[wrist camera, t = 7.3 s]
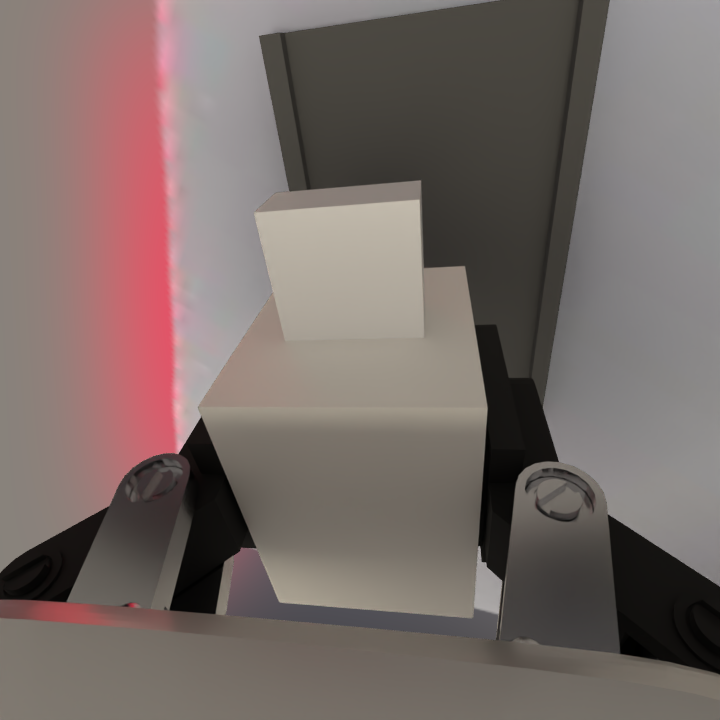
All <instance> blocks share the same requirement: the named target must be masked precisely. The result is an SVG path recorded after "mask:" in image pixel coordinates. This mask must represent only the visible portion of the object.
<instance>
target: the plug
mask: <svg viewBox="0 0 720 720" xmlns="http://www.w3.org/2000/svg"><path fill="white" fill-rule="evenodd" d="M254 216H255V220H256V224H257V228H258V232H259V236H260V240H261V245H262V249H263V253H264V257H265V261H266V265H267V269H268V273H269V277H270V281H271V286H272V290H273V293H272V295H271V296H270V298H269V299H268V301H267V302H266V304H265V305H264V307H263V308H262V310H261V311H260V313H259V314H258V316H257V317H256V319H255V320H254V322H253V324H252V325H251V327H250V328H249V330H248V331H247V333H246V334H245V336H244V337H243V339H242V340H241V342H240V343H239V345H238V346H237V348H236V349H235V351H234V352H233V354H232V356H231V357H230V359H229V360H228V362H227V363H226V365H225V366H224V368H223V369H222V371H221V372H220V374H219V375H218V377H217V378H216V380H215V381H214V383H213V384H212V386H211V388H210V389H209V391H208V392H207V394H206V395H205V397H204V398H203V400H202V401H201V403H200V404H199V406H198V409H199V412H200V414H201V416H202V419H203V421H204V424H205V426H206V428H207V431H208V433H209V436H210V438H211V440H212V443H213V445H214V448H215V450H216V452H217V455H218V457H219V460H220V462H221V464H222V467H223V469H224V471H225V474H226V476H227V479H228V481H229V483H230V486H231V488H232V491H233V493H234V495H235V498H236V500H237V503H238V505H239V507H240V510H241V512H242V514H243V517H244V519H245V522H246V524H247V526H248V529H249V531H250V534H251V536H252V538H253V541H254V543H255V546H256V548H257V550H258V553H259V555H260V557H261V560H262V562H263V565H264V567H265V569H266V572H267V574H268V577H269V579H270V581H271V584H272V586H273V588H274V591H275V593H276V596H277V598H278V601H279V602H281V603H293V604H306V605H318V606H331V607H343V608H354V609H366V610H379V611H391V612H403V613H416V614H428V615H439V616H453V617H464V618H473V610H474V596H475V582H476V567H477V553H478V539H479V524H480V510H481V496H482V481H483V467H484V453H485V438H486V424H487V410H488V407H487V401H486V395H485V388H484V382H483V376H482V370H481V363H480V357H479V351H478V345H477V338H476V332H475V326H474V320H473V313H472V307H471V301H470V295H469V288H468V282H467V276H466V270H465V266H457V267H437V268H424V259H423V226H422V194H421V180H419V181H408V182H396V183H384V184H373V185H361V186H349V187H337V188H326V189H314V190H302V191H291V192H279V193H275V194H274V195H273V196H271V197H270V198H269V199H268V200H267V201H266V202H265V203H264V204H263V205H262V206H260V207H259V208H258V209H257V210H256V211H255V212H254Z"/></svg>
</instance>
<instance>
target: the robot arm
mask: <svg viewBox="0 0 720 720" xmlns="http://www.w3.org/2000/svg"><path fill="white" fill-rule="evenodd" d="M474 326H475V332H476V338H477V345H478V351H479V357H480V363H481V370H482V376H483V382H484V388H485V395H486V401H487V407H488V410H487V424H486V438H485V453H484V467H483V481H482V496H481V510H480V524H479V539H478V546H480V548H481V558H482V562H486V563H487V567H488V568H489V569H490V570H491V571H492V572H493V573H494V574H495V575H497V576H498V577H499V578H500V579H501V580H502V588H501V597H500V607H499V616H498V625H497V635H496V640H489V639H478V638H468V637H457V636H445V635H435V634H425V633H414V632H404V631H393V630H383V629H372V628H361V627H350V626H339V625H327V624H317V623H306V622H295V621H283V620H272V619H260V618H250V617H239V616H227V615H226V610H227V603H228V596H229V590H230V583H231V577H232V570H233V563H234V555H235V554H237V553H238V552H239V551H240V549H241V547H242V548H256V546H255V543H254V541H253V538H252V536H251V534H250V531H249V529H248V526H247V524H246V522H245V519H244V517H243V514H242V512H241V510H240V507H239V505H238V503H237V500H236V498H235V495H234V493H233V491H232V488H231V486H230V483H229V481H228V479H227V476H226V474H225V471H224V469H223V467H222V464H221V462H220V460H219V457H218V455H217V452H216V450H215V448H214V445H213V443H212V440H211V438H210V436H209V433H208V431H207V428H206V426H205V424H204V421H203V419H202V416H201V418H200V420H199V421H198V423H197V425H196V426H195V428H194V430H193V431H192V433H191V435H190V436H189V438H188V439H187V441H186V443H185V444H184V446H183V448H182V449H181V451H180V453H179V454H175V453H166V454H160V455H156V456H153V457H151V458H149V459H146V460H144V461H142V462H141V463H139V464H138V465H136V466H135V467H133V468H132V469H131V470H130V471H129V472H128V473H127V474H126V475H125V476H124V478H123V479H122V481H121V483H120V484H119V486H118V488H117V490H116V493H115V495H114V497H113V499H112V502H111V504H110V506H109V507H107V508H105V509H103V510H101V511H99V512H98V513H96V514H94V515H92V516H90V517H88V518H87V519H85V520H83V521H81V522H79V523H78V524H76V525H74V526H72V527H71V528H68V529H67V530H65V531H63V532H61V533H59V534H58V535H56V536H54V537H52V538H50V539H48V540H47V541H45V542H43V543H41V544H39V545H37V546H36V547H34V548H32V549H30V550H29V551H27V552H25V553H24V554H22V555H21V556H19V557H18V558H16V559H15V560H14V561H12V562H11V563H10V564H9V565H8V566H7V567H6V568H5V569H4V570H3V571H2V572H1V573H0V720H720V587H719V586H718V585H716V584H715V583H713V582H712V581H710V580H709V579H707V578H705V577H704V576H702V575H701V574H699V573H698V572H696V571H695V570H693V569H692V568H690V567H688V566H687V565H685V564H684V563H682V562H681V561H679V560H678V559H676V558H675V557H673V556H671V555H670V554H668V553H667V552H665V551H664V550H662V549H661V548H659V547H658V546H656V545H654V544H653V543H651V542H650V541H648V540H647V539H645V538H644V537H642V536H641V535H639V534H637V533H636V532H634V531H633V530H631V529H630V528H628V527H627V526H625V525H624V524H622V523H621V522H619V521H617V520H616V519H614V518H613V517H611V516H610V515H608V512H607V502H606V499H605V496H604V492H603V491H602V489H601V488H600V486H599V485H598V483H597V482H596V481H595V480H594V479H593V478H591V477H590V476H589V475H588V474H587V473H585V472H583V471H581V470H580V469H578V468H576V467H574V466H571V465H567V464H564V463H560V462H559V461H558V457H557V454H556V451H555V448H554V444H553V441H552V438H551V434H550V431H549V428H548V425H547V421H546V418H545V415H544V411H543V408H542V405H541V402H540V398H539V395H538V392H537V388H536V385H535V382H534V380H533V379H532V378H509V377H508V372H507V368H506V364H505V359H504V355H503V351H502V346H501V342H500V338H499V333H498V329H497V325H496V324H489V325H474Z"/></svg>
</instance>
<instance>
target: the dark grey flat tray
mask: <svg viewBox="0 0 720 720" xmlns="http://www.w3.org/2000/svg"><path fill="white" fill-rule="evenodd" d="M609 1H610V0H500V1H494V2H487V3H480V4H474V5H467V6H461V7H454V8H447V9H441V10H434V11H427V12H421V13H414V14H408V15H401V16H394V17H388V18H381V19H375V20H368V21H361V22H355V23H348V24H341V25H335V26H328V27H322V28H315V29H308V30H302V31H295V32H288V33H275V34H268V35H261V36H259V38H260V43H261V49H262V54H263V59H264V64H265V69H266V74H267V79H268V84H269V89H270V94H271V100H272V105H273V110H274V115H275V120H276V125H277V130H278V135H279V140H280V145H281V151H282V156H283V161H284V166H285V171H286V176H287V181H288V186H289V191H290V192H291V191H302V190H314V189H326V188H337V187H349V186H361V185H373V184H384V183H396V182H408V181H419V180H421V194H422V226H423V259H424V268H437V267H457V266H465V270H466V276H467V282H468V288H469V295H470V301H471V307H472V313H473V320H474V325H489V324H496V325H497V329H498V333H499V338H500V342H501V346H502V351H503V355H504V359H505V364H506V368H507V372H508V377H509V378H532V379H533V380H534V382H535V385H536V388H537V392H538V395H539V398H540V402H541V405H542V408H543V402H544V396H545V389H546V383H547V377H548V371H549V365H550V359H551V353H552V347H553V341H554V335H555V329H556V323H557V317H558V311H559V305H560V298H561V292H562V286H563V280H564V274H565V268H566V262H567V256H568V250H569V244H570V238H571V232H572V226H573V220H574V214H575V208H576V201H577V195H578V189H579V183H580V177H581V171H582V165H583V159H584V153H585V147H586V141H587V135H588V129H589V123H590V117H591V110H592V104H593V98H594V92H595V86H596V80H597V74H598V68H599V62H600V56H601V50H602V44H603V38H604V32H605V26H606V19H607V13H608V7H609Z"/></svg>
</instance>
